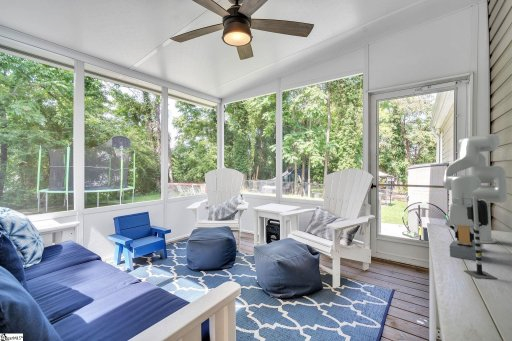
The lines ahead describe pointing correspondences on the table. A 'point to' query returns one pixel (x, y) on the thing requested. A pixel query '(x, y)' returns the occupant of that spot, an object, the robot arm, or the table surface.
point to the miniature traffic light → (478, 215)
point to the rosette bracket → (463, 250)
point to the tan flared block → (464, 234)
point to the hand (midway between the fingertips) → (464, 240)
